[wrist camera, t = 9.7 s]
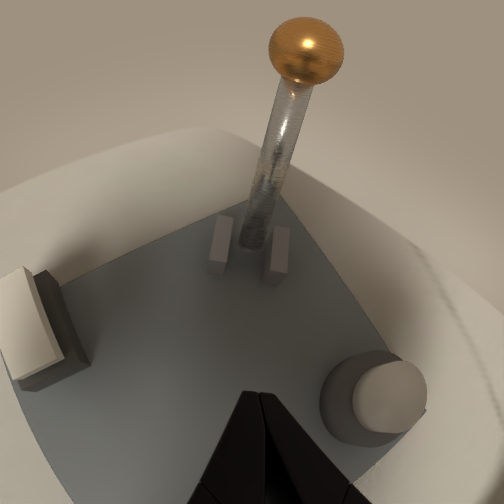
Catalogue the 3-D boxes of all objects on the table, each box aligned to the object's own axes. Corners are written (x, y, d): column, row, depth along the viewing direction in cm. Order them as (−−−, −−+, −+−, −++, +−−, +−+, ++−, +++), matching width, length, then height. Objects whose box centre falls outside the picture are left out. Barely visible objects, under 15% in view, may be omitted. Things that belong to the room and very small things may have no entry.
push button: (418, 401, 12) (436, 399, 11) (374, 445, 11) (392, 447, 10) (387, 351, 13) (404, 346, 12) (339, 393, 12) (355, 392, 11)
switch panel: (411, 411, 15) (445, 409, 13) (152, 576, 8) (147, 604, 6) (266, 199, 20) (279, 167, 17) (4, 325, 13) (-25, 309, 10)
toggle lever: (274, 274, 15) (362, 32, 7) (219, 264, 14) (280, 7, 7) (273, 238, 17) (343, 28, 9) (224, 229, 16) (276, 9, 9)
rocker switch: (64, 358, 10) (57, 358, 10) (23, 379, 10) (12, 380, 9) (31, 272, 11) (23, 266, 10) (-8, 294, 10) (-18, 289, 9)
